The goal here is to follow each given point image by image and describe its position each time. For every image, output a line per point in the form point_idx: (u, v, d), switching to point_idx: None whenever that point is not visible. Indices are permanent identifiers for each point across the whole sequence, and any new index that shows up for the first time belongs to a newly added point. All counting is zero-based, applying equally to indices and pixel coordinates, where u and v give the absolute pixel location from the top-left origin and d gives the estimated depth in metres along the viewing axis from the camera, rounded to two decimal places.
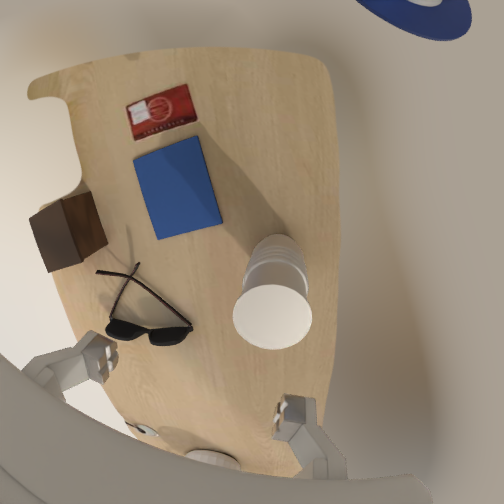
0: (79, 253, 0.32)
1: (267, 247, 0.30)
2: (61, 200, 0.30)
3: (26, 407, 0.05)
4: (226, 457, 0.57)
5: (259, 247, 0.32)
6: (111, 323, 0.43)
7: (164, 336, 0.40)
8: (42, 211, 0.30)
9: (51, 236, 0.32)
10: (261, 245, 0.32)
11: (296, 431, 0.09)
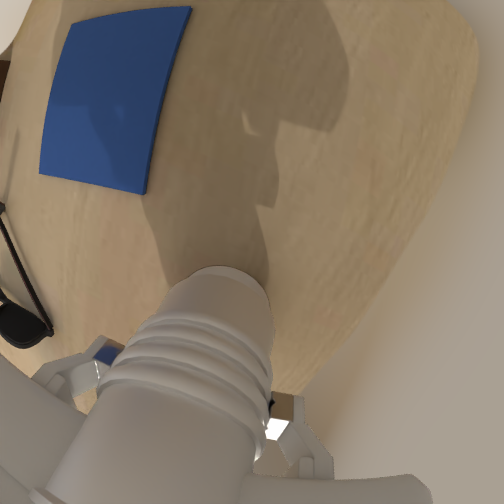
0: None
1: (201, 318, 0.10)
2: None
3: (26, 407, 0.05)
4: None
5: (186, 294, 0.12)
6: None
7: (13, 325, 0.18)
8: None
9: None
10: (193, 294, 0.12)
11: (284, 430, 0.09)
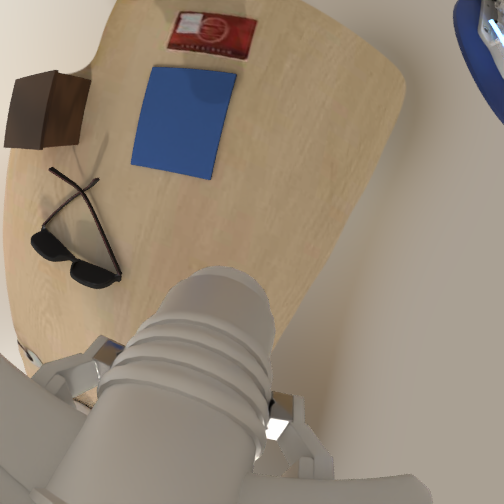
0: (42, 138, 0.21)
1: (201, 318, 0.10)
2: (56, 72, 0.18)
3: (26, 407, 0.05)
4: None
5: (187, 294, 0.12)
6: (41, 233, 0.31)
7: (87, 274, 0.31)
8: (32, 76, 0.18)
9: (25, 107, 0.19)
10: (193, 294, 0.12)
11: (284, 430, 0.09)
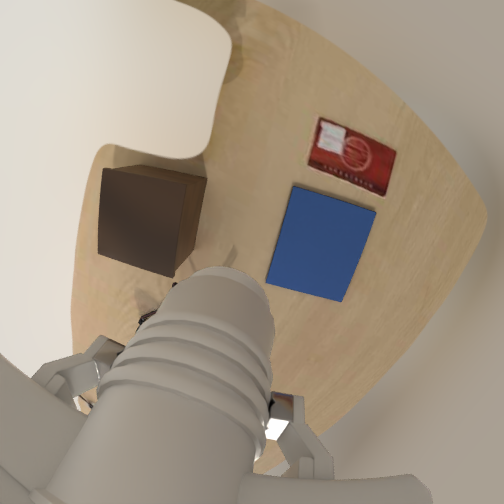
0: (175, 266, 0.26)
1: (201, 319, 0.10)
2: (187, 186, 0.23)
3: (26, 407, 0.05)
4: None
5: (186, 295, 0.12)
6: None
7: None
8: (139, 177, 0.23)
9: (136, 218, 0.24)
10: (193, 294, 0.12)
11: (284, 430, 0.09)
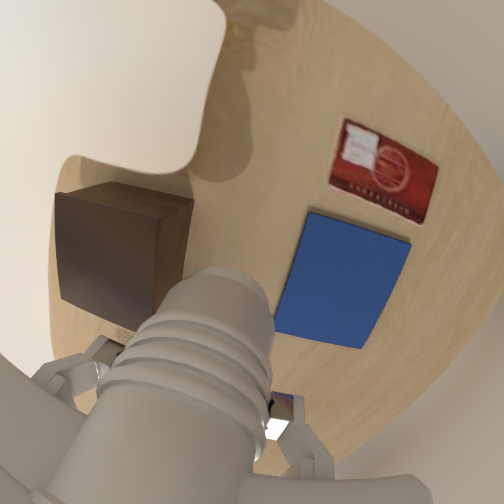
0: None
1: (200, 319, 0.10)
2: (160, 222, 0.16)
3: (26, 407, 0.05)
4: None
5: (186, 295, 0.12)
6: None
7: None
8: (97, 207, 0.16)
9: (98, 262, 0.17)
10: (193, 294, 0.12)
11: (284, 430, 0.09)
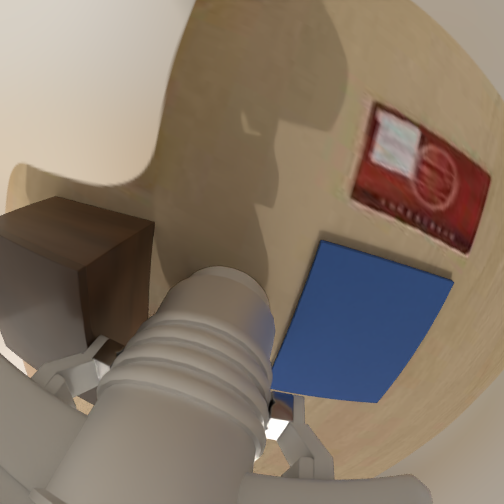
0: None
1: (201, 319, 0.10)
2: (82, 273, 0.09)
3: (26, 407, 0.05)
4: None
5: (186, 295, 0.12)
6: None
7: None
8: (10, 245, 0.09)
9: (26, 316, 0.10)
10: (193, 294, 0.12)
11: (284, 430, 0.09)
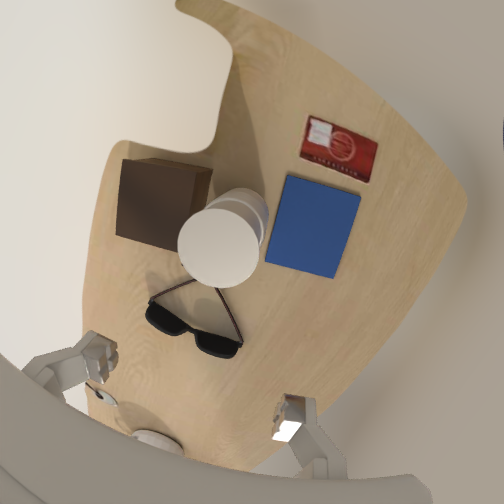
0: None
1: (240, 192, 0.29)
2: (197, 174, 0.27)
3: (26, 407, 0.05)
4: (177, 446, 0.58)
5: (232, 191, 0.31)
6: (152, 307, 0.41)
7: (214, 345, 0.40)
8: (155, 166, 0.27)
9: (152, 202, 0.29)
10: (234, 191, 0.31)
11: (296, 432, 0.09)
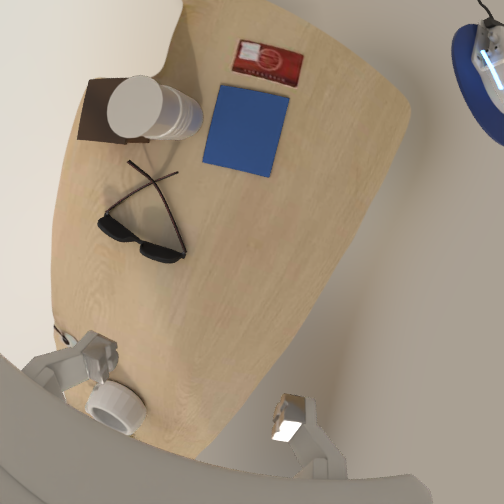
0: None
1: None
2: None
3: (26, 407, 0.05)
4: (138, 399, 0.59)
5: None
6: (105, 218, 0.41)
7: (156, 252, 0.41)
8: (111, 79, 0.28)
9: (105, 106, 0.29)
10: None
11: (296, 432, 0.09)
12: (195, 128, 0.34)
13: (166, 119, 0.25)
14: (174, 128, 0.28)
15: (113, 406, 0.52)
